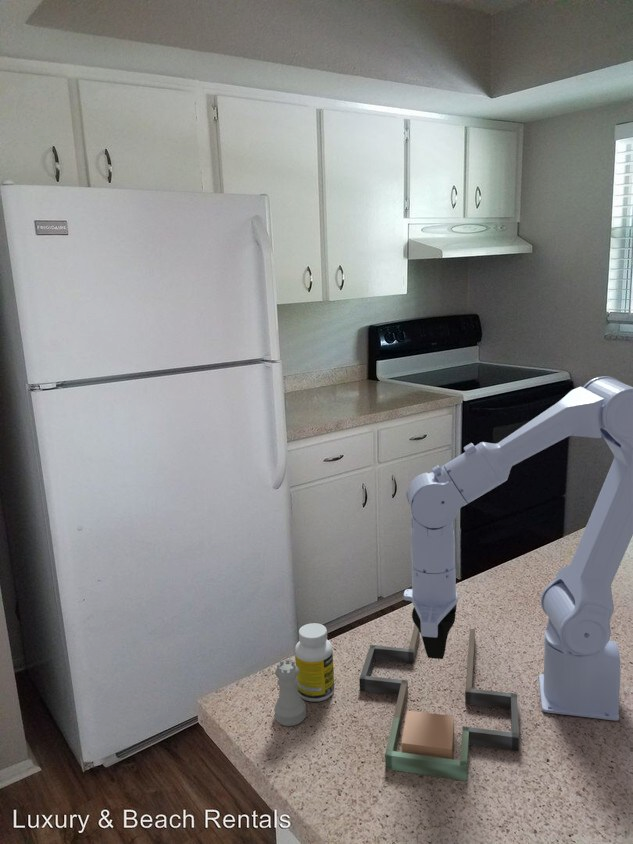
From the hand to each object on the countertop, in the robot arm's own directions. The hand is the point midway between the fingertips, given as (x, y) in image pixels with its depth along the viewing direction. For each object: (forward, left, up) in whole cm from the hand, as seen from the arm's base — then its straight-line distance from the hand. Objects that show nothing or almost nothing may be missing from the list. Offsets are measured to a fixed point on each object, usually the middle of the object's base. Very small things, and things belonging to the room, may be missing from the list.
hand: (435, 655), depth 88 cm
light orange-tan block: (0, +9, -7) cm, 12 cm away
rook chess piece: (+19, +7, -7) cm, 22 cm away
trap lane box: (0, -2, -7) cm, 7 cm away
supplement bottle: (+17, +1, -7) cm, 19 cm away
